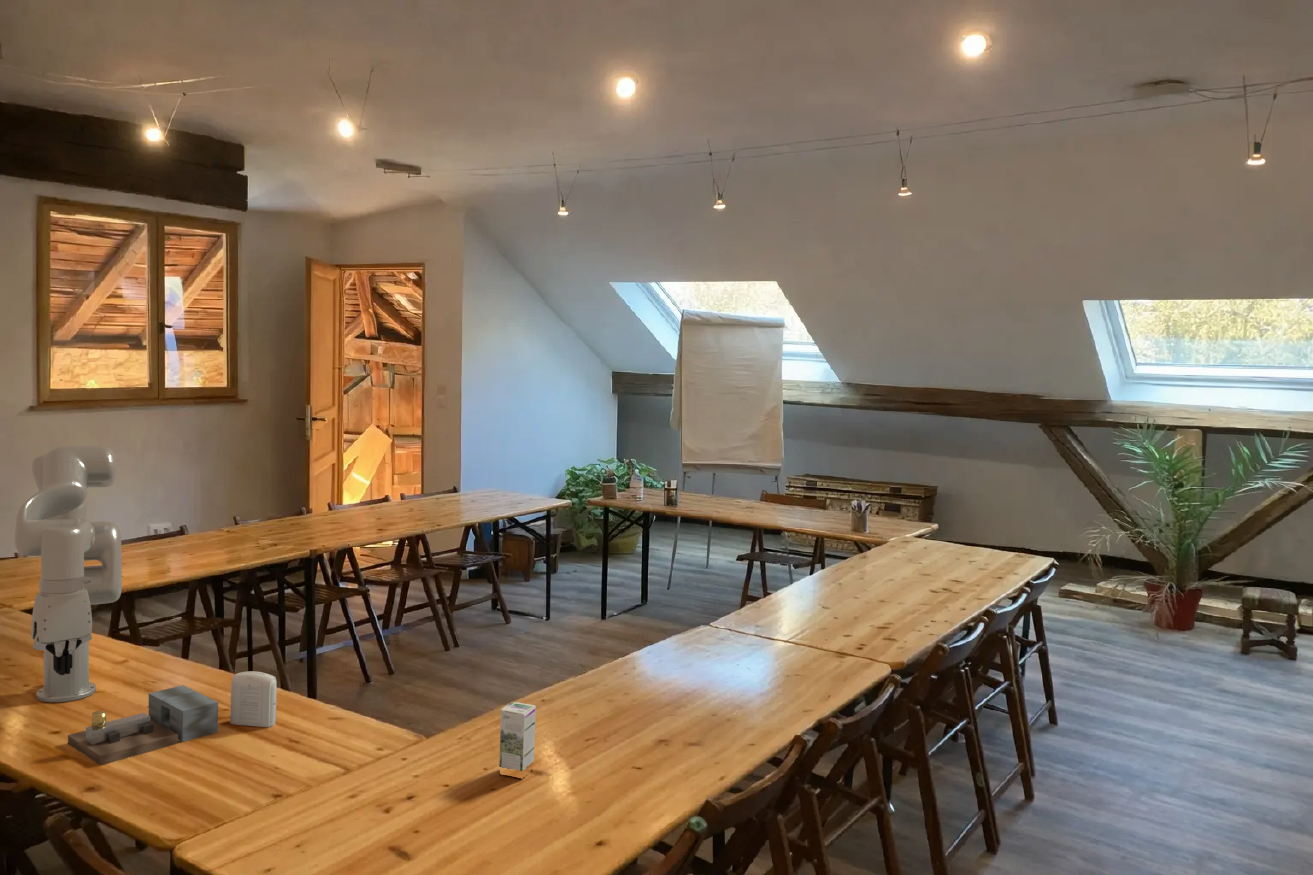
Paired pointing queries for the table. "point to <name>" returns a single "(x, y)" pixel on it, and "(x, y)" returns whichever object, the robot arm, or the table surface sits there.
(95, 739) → the bolt
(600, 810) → the table surface
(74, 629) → the robot arm
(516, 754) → the syrup box
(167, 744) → the frame
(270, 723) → the photo printer
